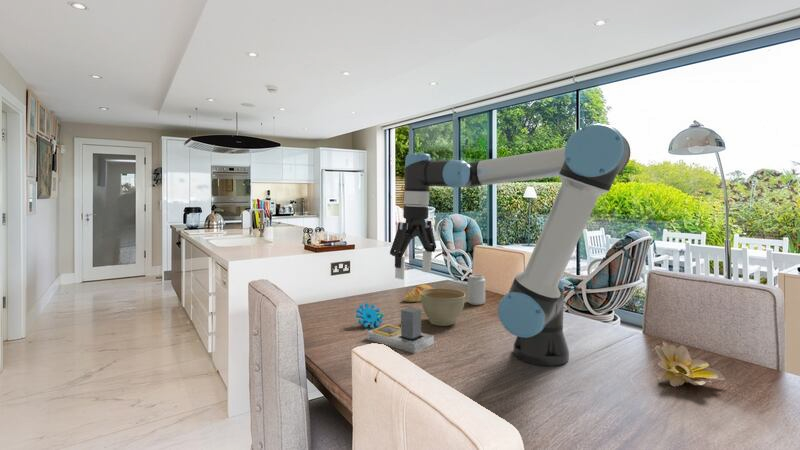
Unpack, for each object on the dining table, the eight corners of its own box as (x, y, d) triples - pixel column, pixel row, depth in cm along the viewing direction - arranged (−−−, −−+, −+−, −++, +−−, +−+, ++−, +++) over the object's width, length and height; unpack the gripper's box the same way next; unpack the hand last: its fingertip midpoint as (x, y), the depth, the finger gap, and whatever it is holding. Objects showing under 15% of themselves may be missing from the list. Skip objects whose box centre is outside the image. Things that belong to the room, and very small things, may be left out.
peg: (421, 344, 128) (421, 309, 127) (412, 348, 124) (412, 312, 123) (409, 341, 130) (409, 307, 130) (401, 345, 127) (401, 310, 126)
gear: (359, 326, 139) (354, 301, 146) (354, 335, 143) (349, 310, 149) (388, 326, 145) (382, 302, 151) (382, 334, 148) (376, 310, 155)
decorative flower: (693, 395, 91) (686, 348, 93) (645, 385, 101) (640, 344, 103) (734, 387, 97) (727, 344, 99) (685, 379, 107) (680, 340, 109)
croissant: (407, 312, 175) (413, 297, 172) (394, 297, 181) (399, 283, 178) (443, 302, 188) (448, 289, 185) (429, 289, 195) (434, 275, 191)
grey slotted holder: (433, 343, 128) (433, 334, 128) (414, 353, 120) (414, 343, 120) (387, 331, 140) (387, 322, 140) (367, 339, 132) (367, 330, 132)
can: (486, 305, 172) (487, 277, 171) (468, 305, 172) (469, 277, 171) (483, 301, 179) (483, 273, 178) (466, 301, 179) (466, 273, 179)
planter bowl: (444, 332, 138) (444, 300, 137) (411, 321, 150) (411, 292, 150) (474, 322, 149) (474, 293, 148) (441, 313, 161) (441, 285, 160)
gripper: (429, 204, 136) (427, 267, 138) (378, 205, 116) (376, 279, 118) (448, 205, 131) (445, 271, 133) (399, 207, 111) (397, 284, 114)
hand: (413, 275), depth 126 cm, fingers open, 13 cm apart
